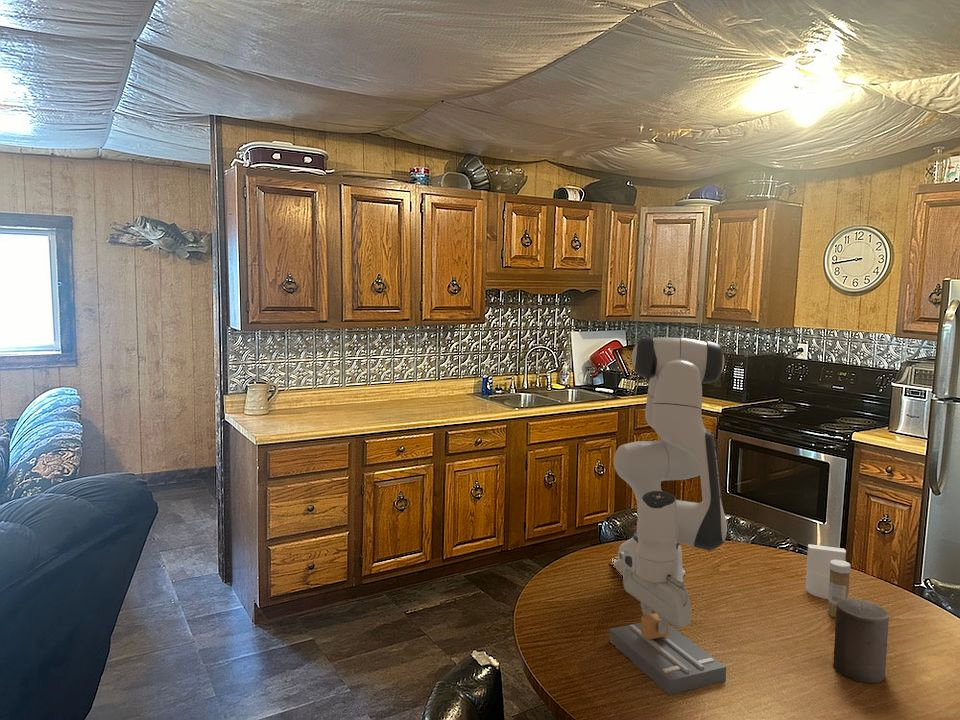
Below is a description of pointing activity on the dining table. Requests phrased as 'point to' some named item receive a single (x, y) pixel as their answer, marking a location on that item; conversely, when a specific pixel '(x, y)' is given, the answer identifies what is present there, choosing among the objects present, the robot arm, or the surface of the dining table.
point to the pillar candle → (861, 640)
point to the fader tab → (651, 626)
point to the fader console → (668, 659)
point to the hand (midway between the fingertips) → (654, 627)
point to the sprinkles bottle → (838, 584)
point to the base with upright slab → (821, 568)
